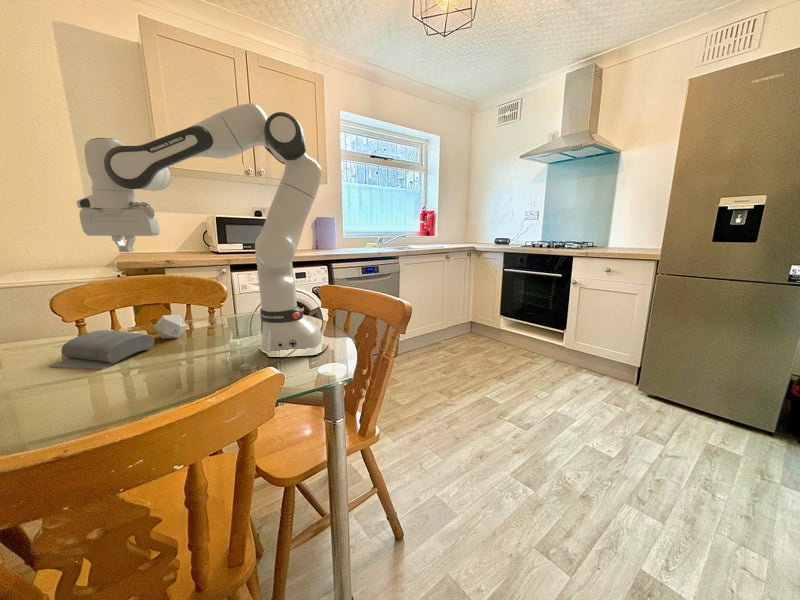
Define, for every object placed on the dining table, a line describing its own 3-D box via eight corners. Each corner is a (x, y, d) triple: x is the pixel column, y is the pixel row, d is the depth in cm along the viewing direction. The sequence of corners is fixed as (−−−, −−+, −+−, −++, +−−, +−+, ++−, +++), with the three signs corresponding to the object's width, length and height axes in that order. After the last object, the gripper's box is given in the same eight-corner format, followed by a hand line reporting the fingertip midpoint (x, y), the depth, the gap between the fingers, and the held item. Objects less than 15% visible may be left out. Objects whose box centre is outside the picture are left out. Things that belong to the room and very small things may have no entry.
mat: (147, 347, 108) (147, 346, 108) (102, 369, 93) (102, 367, 92) (102, 345, 109) (102, 344, 109) (50, 367, 93) (50, 365, 93)
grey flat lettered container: (104, 347, 92) (51, 341, 96) (108, 365, 94) (56, 358, 98) (153, 330, 106) (105, 325, 110) (156, 346, 108) (109, 341, 112)
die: (168, 345, 112) (184, 320, 114) (143, 332, 111) (161, 307, 113) (179, 344, 120) (195, 321, 122) (157, 333, 119) (173, 309, 121)
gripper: (160, 202, 92) (169, 250, 96) (92, 202, 93) (104, 250, 97) (142, 201, 86) (152, 253, 90) (70, 201, 87) (82, 252, 90)
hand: (126, 251), depth 93 cm, fingers closed
